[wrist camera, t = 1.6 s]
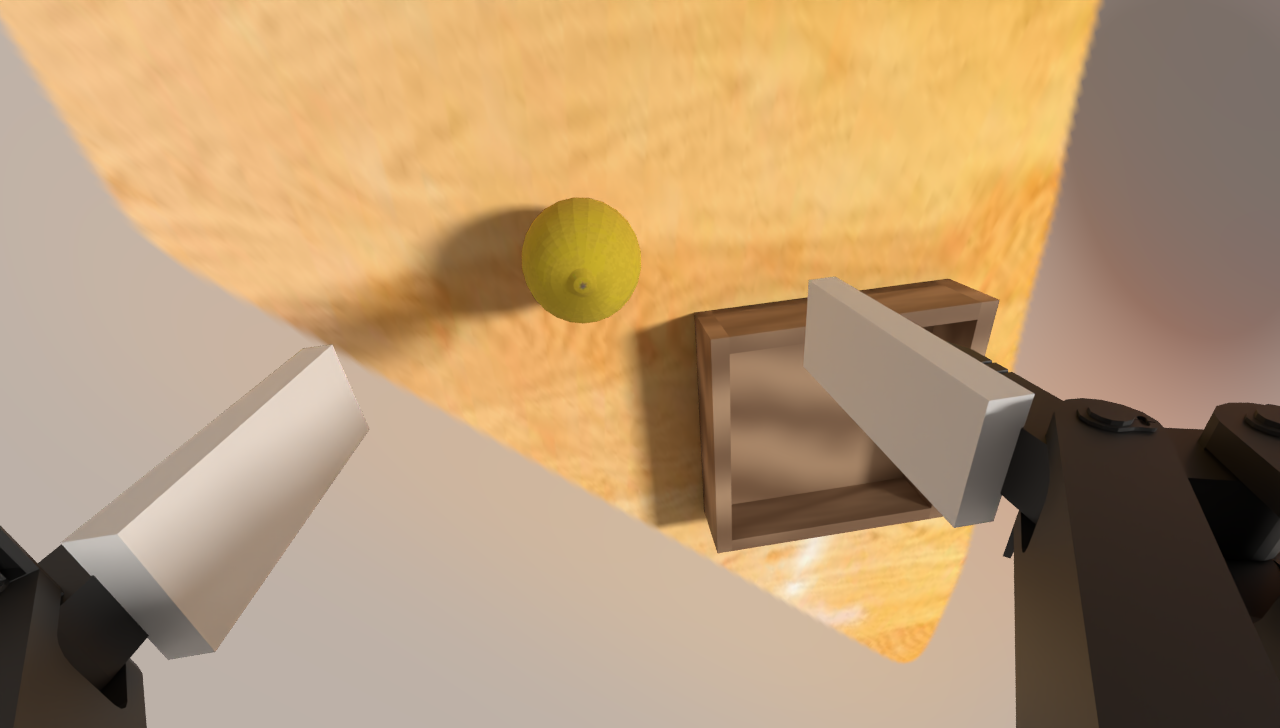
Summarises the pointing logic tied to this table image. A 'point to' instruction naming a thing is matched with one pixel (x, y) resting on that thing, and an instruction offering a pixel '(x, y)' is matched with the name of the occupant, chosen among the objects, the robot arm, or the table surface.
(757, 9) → the table surface
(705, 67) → the table surface
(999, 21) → the table surface
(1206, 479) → the robot arm
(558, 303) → the lemon
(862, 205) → the table surface
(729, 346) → the walnut bin
